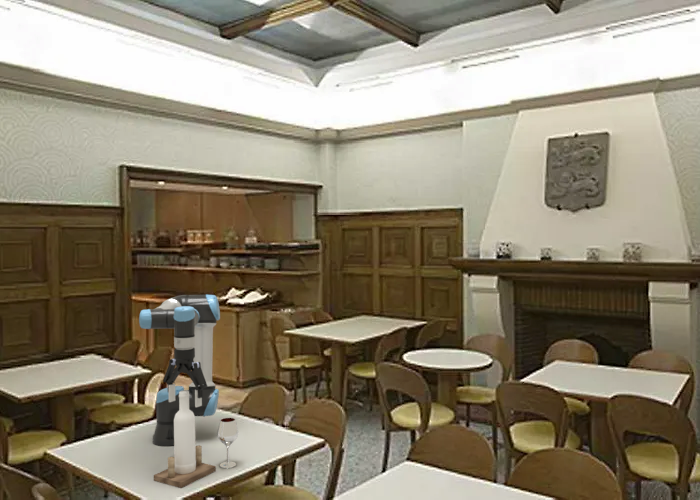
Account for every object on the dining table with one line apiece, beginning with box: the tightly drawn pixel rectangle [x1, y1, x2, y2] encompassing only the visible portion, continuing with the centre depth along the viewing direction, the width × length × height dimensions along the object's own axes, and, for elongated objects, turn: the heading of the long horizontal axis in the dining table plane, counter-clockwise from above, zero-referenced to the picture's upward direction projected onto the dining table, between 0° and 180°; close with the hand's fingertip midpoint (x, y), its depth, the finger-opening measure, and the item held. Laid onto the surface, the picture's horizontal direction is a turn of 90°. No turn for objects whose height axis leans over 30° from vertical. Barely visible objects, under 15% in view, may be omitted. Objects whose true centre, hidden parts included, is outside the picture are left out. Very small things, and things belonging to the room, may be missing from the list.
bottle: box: [173, 389, 196, 474], centre depth 224 cm, size 8×8×30 cm
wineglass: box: [216, 417, 239, 469], centre depth 235 cm, size 8×8×18 cm
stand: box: [153, 444, 217, 489], centre depth 224 cm, size 14×18×9 cm
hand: (185, 403), depth 224 cm, fingers open, 13 cm apart
